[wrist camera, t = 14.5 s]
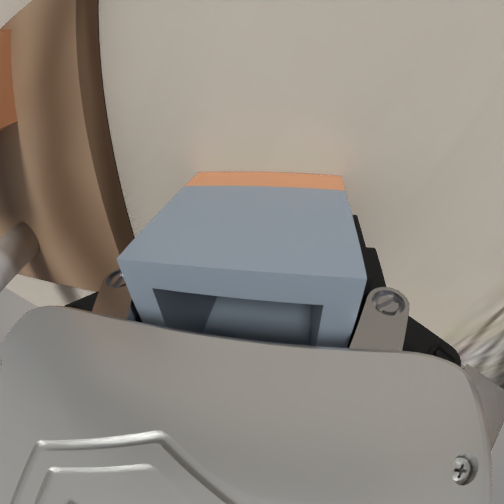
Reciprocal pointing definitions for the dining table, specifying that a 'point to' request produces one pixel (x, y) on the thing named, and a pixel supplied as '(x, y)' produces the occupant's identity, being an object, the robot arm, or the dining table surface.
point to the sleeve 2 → (251, 259)
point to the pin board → (59, 153)
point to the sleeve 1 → (6, 82)
